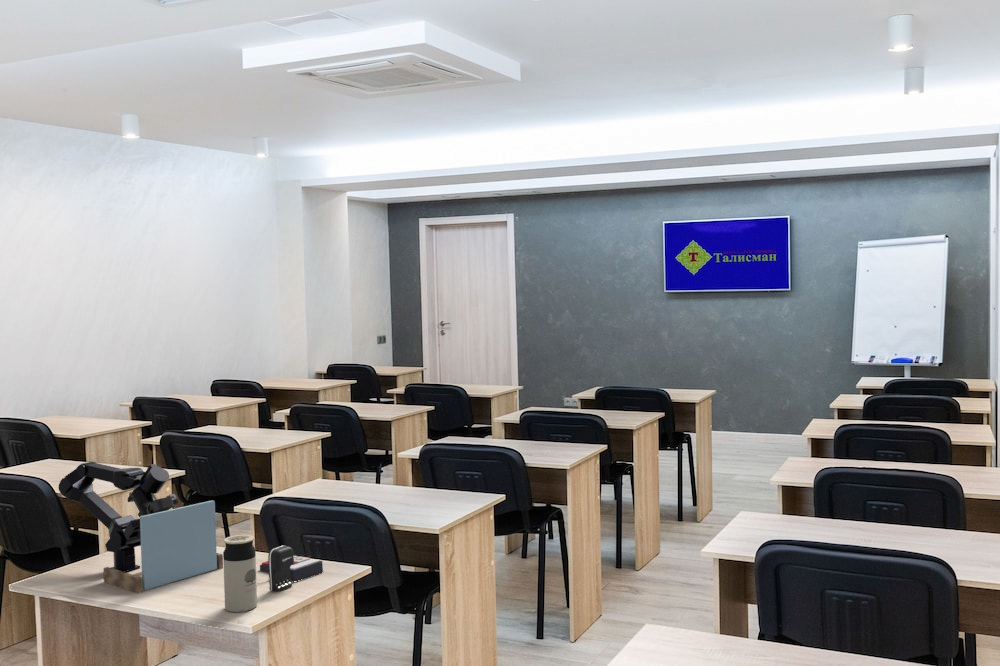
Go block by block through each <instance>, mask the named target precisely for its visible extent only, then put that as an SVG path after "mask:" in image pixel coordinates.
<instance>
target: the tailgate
mask: <svg viewBox="0 0 1000 666" xmlns="http://www.w3.org/2000/svg"><path fill="white" fill-rule="evenodd" d="M215 501H216V500H208V501H204V502H198V503H195V504H190V505H185V506H182V507H175V508H171V509H169V510H167V511H162V512H158V513H153V514H149V515H144V516H140V517H139V519H140V534H141V546H140V553H141V554H140V559H141V561H140V562H141V572H142V589H143V590H147V589H150V588H153V589H155V588H154V587H157V586H160V587H162V586H161V585H164V584H167V583H170V584H172V583H171V582H174V581H177V582H179V581H178V580H181V579H184V578H187V579H189V578H188V577H191V576H194V577H196V576H195V575H198V574H201V573H204V574H206V573H205V572H208V571H211V572H213V571H212V570H215V569H217V554H216V553H217V529H216V527H217V526H216V502H215ZM215 571H216V570H215ZM208 573H209V572H208ZM201 575H202V574H201ZM198 576H199V575H198ZM191 578H192V577H191ZM184 580H185V579H184ZM181 581H182V580H181ZM174 583H175V582H174ZM167 585H168V584H167ZM164 586H165V585H164ZM157 588H158V587H157ZM150 590H151V589H150ZM147 591H148V590H147Z"/></svg>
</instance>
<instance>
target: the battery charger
mask: <svg viewBox="0 0 1000 666" xmlns="http://www.w3.org/2000/svg"><path fill="white" fill-rule="evenodd" d="M267 556H268V559H267V561H268V566H269V573H268V581H269V591H271V592H282V591H284V590H286V589H289V588H291V587H292V586H293V582H292V581H291V578H290V567H291V565H293V564H294V556H295V554H294V550H293V548H292V547H291V546H287V545H281V546H277V547H274V548H272V549H271V550H269V552H268V555H267Z"/></svg>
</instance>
